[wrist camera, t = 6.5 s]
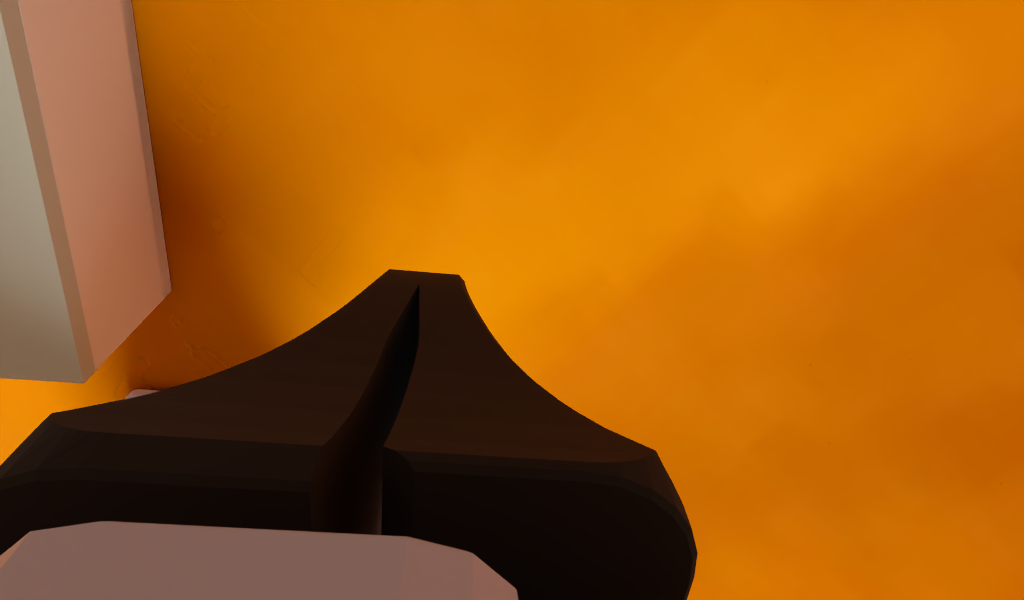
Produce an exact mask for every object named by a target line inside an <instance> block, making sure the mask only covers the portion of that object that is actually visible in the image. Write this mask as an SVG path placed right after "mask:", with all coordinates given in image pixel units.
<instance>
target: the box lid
mask: <svg viewBox="0 0 1024 600" xmlns="http://www.w3.org/2000/svg"><path fill="white" fill-rule="evenodd" d="M95 371H96V370H95V365H94V360H93V356H92V351H91V346H90V342H89V337H88V332H87V328H86V323H85V318H84V313H83V309H82V304H81V299H80V295H79V290H78V285H77V280H76V276H75V271H74V266H73V262H72V257H71V252H70V248H69V243H68V238H67V233H66V229H65V224H64V219H63V215H62V210H61V205H60V201H59V196H58V191H57V186H56V182H55V177H54V172H53V168H52V163H51V158H50V154H49V149H48V144H47V139H46V135H45V130H44V125H43V121H42V116H41V111H40V107H39V102H38V97H37V92H36V88H35V83H34V78H33V74H32V69H31V64H30V60H29V55H28V50H27V45H26V41H25V36H24V31H23V27H22V22H21V17H20V13H19V8H18V3H17V0H0V378H8V379H24V380H40V381H56V382H72V383H85V382H86V381H87V380H88V379H89V377H90V376H91V375H92V374H93V373H94V372H95Z"/></svg>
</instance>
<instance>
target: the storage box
mask: <svg viewBox="0 0 1024 600" xmlns="http://www.w3.org/2000/svg"><path fill="white" fill-rule="evenodd" d="M17 3H18V8H19V13H20V17H21V22H22V27H23V31H24V36H25V41H26V45H27V50H28V55H29V60H30V64H31V69H32V74H33V78H34V83H35V88H36V92H37V97H38V102H39V107H40V111H41V116H42V121H43V125H44V130H45V135H46V139H47V144H48V149H49V154H50V158H51V163H52V168H53V172H54V177H55V182H56V186H57V191H58V196H59V201H60V205H61V210H62V215H63V219H64V224H65V229H66V233H67V238H68V243H69V248H70V252H71V257H72V262H73V266H74V271H75V276H76V280H77V285H78V290H79V295H80V299H81V304H82V309H83V313H84V318H85V323H86V328H87V332H88V337H89V342H90V346H91V351H92V356H93V360H94V365H95V370H97V369H98V368H99V367H100V366H101V365H102V364H103V363H104V362H105V361H106V360H107V358H108V357H109V356H110V355H111V354H112V353H113V352H114V351H115V350H116V349H117V348H118V347H119V346H120V345H121V344H122V343H123V342H124V341H125V339H126V338H127V337H128V336H129V335H130V334H131V333H132V332H133V331H134V330H135V329H136V328H137V327H138V326H139V325H140V324H141V323H142V322H143V321H144V319H145V318H146V317H147V316H148V315H149V314H150V313H151V312H152V311H153V310H154V309H155V308H156V307H157V306H158V305H159V304H160V303H161V302H162V301H163V299H164V298H165V297H166V296H167V295H168V294H169V293H170V292H171V291H172V289H171V282H170V275H169V268H168V261H167V253H166V246H165V239H164V232H163V225H162V217H161V210H160V203H159V196H158V189H157V181H156V174H155V167H154V160H153V153H152V146H151V138H150V131H149V124H148V117H147V110H146V102H145V95H144V88H143V81H142V74H141V67H140V59H139V52H138V45H137V38H136V31H135V23H134V16H133V9H132V2H131V0H17Z"/></svg>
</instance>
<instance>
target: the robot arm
mask: <svg viewBox="0 0 1024 600" xmlns="http://www.w3.org/2000/svg"><path fill="white" fill-rule="evenodd" d="M696 560H697V549H696V545H695V541H694V537H693V532H692V529H691V526H690V523H689V520H688V517H687V514H686V512H685V509H684V506H683V504H682V501H681V499H680V497H679V495H678V493H677V491H676V489H675V487H674V485H673V483H672V481H671V479H670V477H669V475H668V473H667V471H666V470H665V468H664V466H663V464H662V462H661V460H660V458H659V456H658V454H657V452H656V451H655V450H653V449H650V448H648V447H646V446H644V445H642V444H639V443H637V442H635V441H633V440H630V439H628V438H626V437H624V436H621V435H619V434H617V433H615V432H613V431H610V430H608V429H606V428H604V427H602V426H600V425H599V424H597V423H595V422H593V421H592V420H590V419H588V418H586V417H585V416H583V415H581V414H579V413H578V412H576V411H575V410H573V409H571V408H570V407H568V406H567V405H565V404H564V403H562V402H561V401H559V400H558V399H557V398H555V397H554V396H553V395H551V394H550V393H549V392H547V391H546V390H545V389H544V388H542V387H541V386H540V385H538V384H537V383H536V382H535V381H534V380H532V379H531V378H530V377H529V376H528V375H527V374H526V373H525V372H524V371H523V370H522V369H521V368H520V367H519V366H518V365H516V364H515V363H514V362H513V361H512V359H511V358H510V357H509V356H508V355H507V354H506V352H505V351H504V350H503V348H502V347H501V346H500V345H499V343H498V342H497V341H496V339H495V338H494V337H493V335H492V334H491V332H490V331H489V329H488V328H487V326H486V325H485V323H484V321H483V320H482V318H481V317H480V315H479V313H478V312H477V310H476V308H475V306H474V304H473V302H472V300H471V298H470V296H469V294H468V292H467V289H466V286H465V281H464V280H463V279H462V278H461V277H460V276H459V275H454V274H441V273H429V272H417V271H404V270H392V269H389V270H388V271H387V272H385V273H384V274H383V275H382V276H380V277H379V278H378V279H377V280H375V281H374V282H373V283H372V284H371V285H370V286H368V287H367V288H366V289H365V290H364V291H362V292H361V293H360V294H359V295H357V296H356V297H355V298H354V299H352V300H351V301H350V302H349V303H347V304H346V305H345V306H343V307H342V308H341V309H340V310H338V311H337V312H335V313H334V314H332V315H331V316H329V317H328V318H326V319H325V320H323V321H322V322H320V323H319V324H317V325H316V326H314V327H313V328H311V329H310V330H308V331H307V332H305V333H303V334H302V335H300V336H298V337H296V338H295V339H293V340H291V341H289V342H287V343H285V344H283V345H281V346H279V347H277V348H275V349H273V350H271V351H269V352H267V353H265V354H263V355H261V356H259V357H257V358H254V359H251V360H249V361H246V362H244V363H241V364H239V365H236V366H234V367H231V368H229V369H226V370H224V371H221V372H219V373H216V374H213V375H211V376H208V377H205V378H202V379H199V380H195V381H192V382H189V383H186V384H183V385H179V386H176V387H172V388H168V389H165V390H161V391H160V390H144V389H137V390H133V391H131V392H130V393H129V394H128V395H127V397H126V398H125V399H124V400H119V401H114V402H109V403H104V404H99V405H94V406H89V407H84V408H79V409H74V410H68V411H62V412H56V413H52V414H51V415H49V416H48V417H47V418H46V419H45V420H44V421H43V422H42V423H41V424H40V425H39V426H38V427H37V428H36V429H35V430H34V431H33V432H32V433H31V434H30V435H29V436H28V437H27V438H26V439H25V440H24V441H23V443H22V444H21V445H20V446H19V447H18V448H17V449H16V450H15V451H14V452H13V453H12V454H11V455H10V456H9V457H8V458H7V459H6V460H5V461H4V463H3V464H2V465H1V466H0V600H687V597H688V594H689V591H690V588H691V585H692V582H693V579H694V574H695V567H696Z"/></svg>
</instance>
